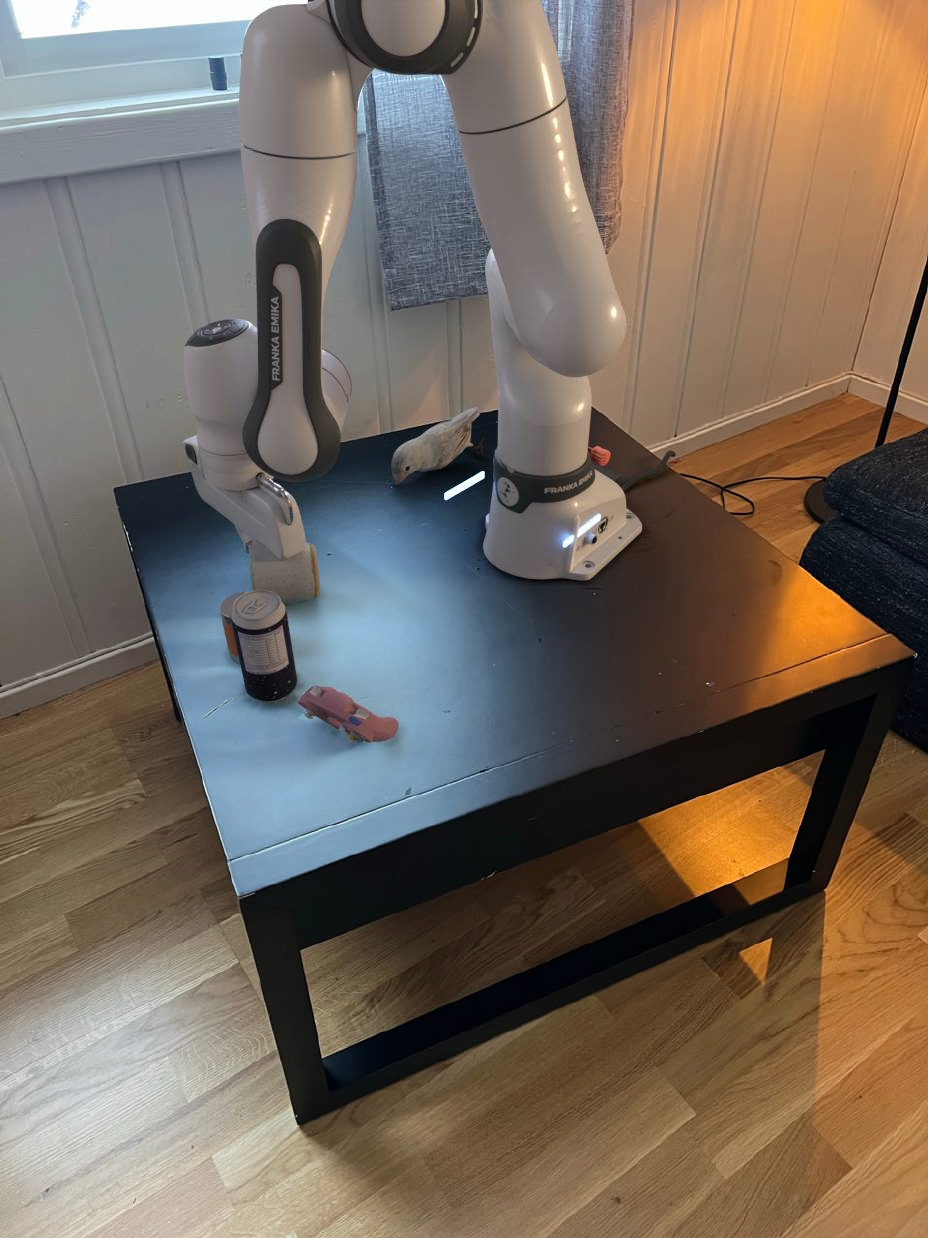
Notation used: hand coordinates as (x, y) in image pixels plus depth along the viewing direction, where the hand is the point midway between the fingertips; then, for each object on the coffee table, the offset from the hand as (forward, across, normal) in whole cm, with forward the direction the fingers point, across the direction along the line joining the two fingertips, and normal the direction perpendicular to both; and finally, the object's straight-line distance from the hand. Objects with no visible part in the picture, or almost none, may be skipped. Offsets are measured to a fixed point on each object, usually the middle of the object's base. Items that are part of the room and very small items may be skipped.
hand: (256, 555), depth 119 cm
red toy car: (+2, -31, +8) cm, 32 cm away
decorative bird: (+2, +4, -34) cm, 34 cm away
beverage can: (+2, -20, +11) cm, 23 cm away
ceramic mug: (+2, -6, 0) cm, 7 cm away
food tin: (+2, -13, +10) cm, 17 cm away
